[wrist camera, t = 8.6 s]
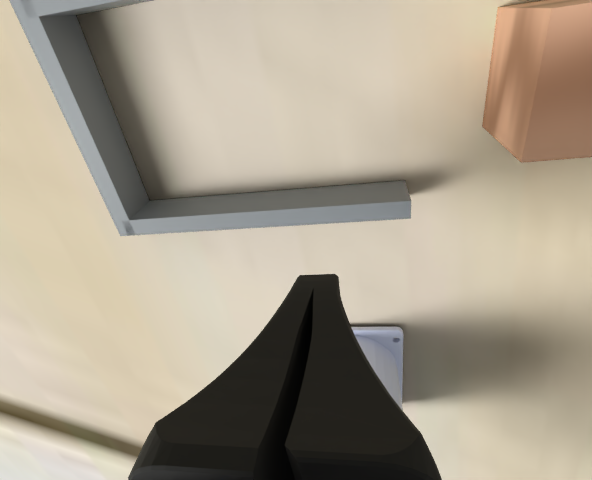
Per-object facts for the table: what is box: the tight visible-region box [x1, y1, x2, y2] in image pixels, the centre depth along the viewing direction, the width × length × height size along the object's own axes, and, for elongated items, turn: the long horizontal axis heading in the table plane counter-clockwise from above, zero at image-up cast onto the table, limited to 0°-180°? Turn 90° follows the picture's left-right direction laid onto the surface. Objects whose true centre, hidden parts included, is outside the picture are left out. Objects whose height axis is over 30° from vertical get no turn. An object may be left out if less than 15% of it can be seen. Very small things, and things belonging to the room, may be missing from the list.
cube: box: [482, 0, 592, 162], centre depth 14 cm, size 5×5×5 cm
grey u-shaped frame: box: [9, 0, 411, 236], centre depth 18 cm, size 12×16×2 cm
